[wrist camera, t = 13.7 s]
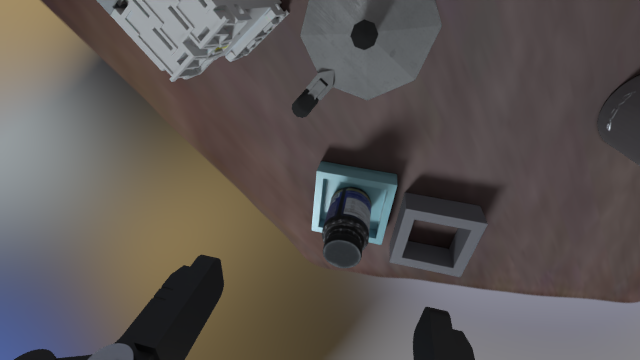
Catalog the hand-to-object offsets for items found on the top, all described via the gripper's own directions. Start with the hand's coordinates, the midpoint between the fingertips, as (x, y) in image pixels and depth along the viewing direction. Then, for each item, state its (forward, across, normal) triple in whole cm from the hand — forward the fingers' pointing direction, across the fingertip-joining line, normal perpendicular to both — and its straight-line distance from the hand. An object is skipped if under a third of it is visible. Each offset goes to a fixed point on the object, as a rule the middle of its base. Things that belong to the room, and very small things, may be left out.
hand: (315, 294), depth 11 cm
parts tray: (+30, 0, +16) cm, 34 cm away
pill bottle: (+29, 0, +16) cm, 34 cm away
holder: (+30, -13, +19) cm, 38 cm away
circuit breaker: (+30, +18, -10) cm, 37 cm away
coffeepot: (+30, +1, -7) cm, 31 cm away
